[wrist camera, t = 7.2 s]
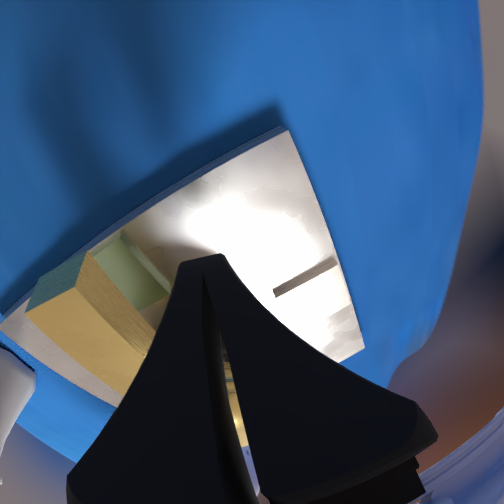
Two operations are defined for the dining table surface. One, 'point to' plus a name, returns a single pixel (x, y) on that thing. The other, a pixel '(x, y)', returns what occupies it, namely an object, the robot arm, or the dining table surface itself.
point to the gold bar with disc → (100, 326)
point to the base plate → (221, 241)
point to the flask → (13, 391)
